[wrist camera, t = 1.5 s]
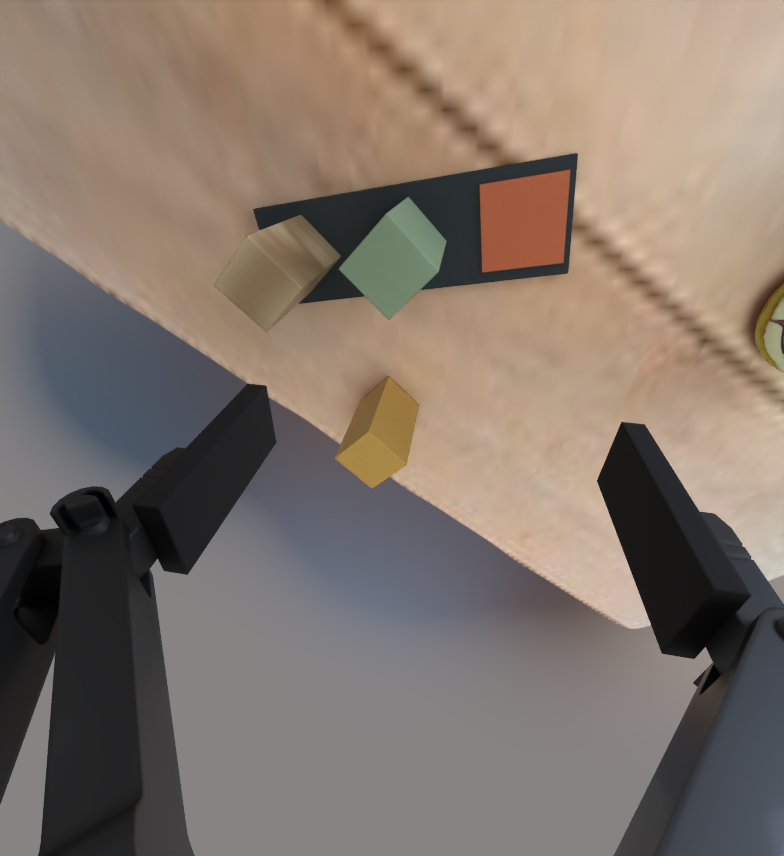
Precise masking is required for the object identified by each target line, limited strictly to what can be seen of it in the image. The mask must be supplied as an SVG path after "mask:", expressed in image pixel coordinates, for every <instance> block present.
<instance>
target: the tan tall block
mask: <svg viewBox="0 0 784 856" xmlns="http://www.w3.org/2000/svg"><path fill="white" fill-rule="evenodd" d="M340 257H341V255H340V254H339V253H338V252H337V251H336V250H335V249H334V248H333V247H332V246H331V245H330V244H329V243H328V242H327V241H326V240H325V239H324V238H323V237H322V236H321V235H320V234H319V233H318V232H317V231H316V230H315V229H314V227H313V226H312V225H311V224H310V223H309V222H308V221H307V220H306V219H305V218H304V217H303V216H302V215H298V216H296V217H293V218H291V219H288V220H286V221H283V222H280V223H278V224H275V225H273V226H270V227H267V228H265V229H262V230H260V231H257V232H255V233H252V234H249V235H247V236H246V237H245V239H244V240H243V242H242V243H241V245H240V246H239V248H238V249H237V251H236V252H235V254H234V255H233V257H232V258H231V260H230V261H229V263H228V264H227V266H226V267H225V269H224V270H223V272H222V273H221V275H220V276H219V278H218V279H217V281H216V282H215V284H214V286H215V287H216V288H217V289H218V290H219V291H221V292H222V293H223V294H224V295H225V296H226V297H227V298H228V299H230V300H231V301H232V302H233V303H234V304H235V305H236V306H237V307H239V308H240V309H241V310H242V311H243V312H244V313H245V314H246V315H248V316H249V317H250V318H251V319H252V320H253V321H254V322H256V323H257V324H258V325H259V326H260V327H261V328H262V329H263V330H265V331H266V332H267V331H268V330H269V329H270V328H271V327H272V326H274V325H275V324H276V323H277V322H278V321H279V320H280V319H281V318H283V317H284V316H285V315H286V314H287V313H288V312H289V311H290V310H291V309H293V308H294V307H295V306H296V305H297V304H298V303H299V302H300V301H302V300H303V299H304V298H305V297H306V296H307V295H308V294H309V293H310V292H311V291H312V290H313V289H314V288H315V287H316V286H317V284H318V283H319V282H320V281H321V280H322V278H323V277H324V276H325V275H326V274H327V273H328V271H329V270H330V269H331V268H332V267H333V265H334V264H335V263H336V262H337V261H338V260H339V258H340Z"/></svg>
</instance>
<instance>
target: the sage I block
mask: <svg viewBox="0 0 784 856" xmlns="http://www.w3.org/2000/svg"><path fill="white" fill-rule="evenodd" d="M446 242H447V241H446V240H445V239H444V238H443V236H442V235H441V234H440V233H439V232H438V231H437V229H436V228H435V227H434V226H433V225H432V224H431V222H430V221H429V220H428V219H427V218H426V217H425V215H424V214H423V213H422V212H421V211H420V210H419V208H418V207H417V206H416V205H415V204H414V203H413V201H412V200H411V199H410V198H409V197H407V198H406V199H404V200H403V201H402V202H401V203H399V204H398V205H397V206H395V207H394V208H393V209H391V210H390V211H389V212H387V213H386V214H385V215H384V216H383V218H382V219H381V220H380V221H379V222H378V223H377V225H376V226H375V227H374V228H373V229H372V230H371V232H370V233H369V234H368V235H367V236H366V237H365V239H364V240H363V241H362V242H361V243H360V244H359V246H358V247H357V248H356V249H355V250H354V251H353V252H352V254H351V255H350V256H349V257H348V258H347V259H346V261H345V262H344V263H343V264H342V265H341V266H340V268H339V270H340V271H341V272H342V273H343V274H344V275H345V276H346V277H347V278H348V279H349V280H350V281H351V282H352V283H353V284H354V285H355V286H356V287H357V288H358V289H359V290H360V291H361V292H362V293H363V294H364V295H365V296H366V297H367V298H368V299H369V300H370V301H371V303H372V304H373V305H374V306H375V307H376V308H377V309H378V310H379V311H380V312H381V313H382V314H383V315H384V316H385V317H386V318H387V319H390V318H391V317H392V316H393V315H394V314H396V313H397V312H398V311H399V310H400V309H401V308H402V307H403V306H404V305H405V304H406V303H407V302H408V301H409V300H410V299H411V298H412V297H413V296H414V295H415V294H416V293H417V292H418V291H419V290H420V289H421V288H422V287H424V286H425V285H426V284H427V283H428V282H429V281H430V280H431V279H432V278H433V277H434V276H435V275H436V274H437V273H438V272H439V268H440V264H441V261H442V257H443V253H444V249H445V246H446Z"/></svg>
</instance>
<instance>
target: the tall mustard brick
mask: <svg viewBox="0 0 784 856" xmlns="http://www.w3.org/2000/svg"><path fill="white" fill-rule="evenodd" d="M418 407H419V405H418V404H417V403H416V402H415V401H414V400H413V399H412V398H411V397H410V396H409V395H408V394H407V393H406V392H405V391H404V390H403V389H402V388H401V387H399V386H398V385H397V384H396V383H395V382H394V381H393V380H392V379H391V378H390V377H389V376H388V377H387V378H386V379H385V380H384V381H383V382H381V383H380V384H379V385H378V386H377V387H376V388H374V389H373V390H372V391H371V392H370V393H369V394H367V395H366V396H365V397H364V398H363V399H362V400H361V401H360V402H359V405H358V407H357V409H356V411H355V414H354V416H353V418H352V421H351V423H350V425H349V427H348V430H347V432H346V434H345V436H344V439H343V441H342V443H341V445H340V448H339V450H338V452H337V455H336V457H335V459H336V460H338V461H339V462H340V463H341V464H343V465H344V466H345V467H346V468H347V469H349V470H350V471H351V472H352V473H353V474H355V475H356V476H357V477H358V478H360V479H361V480H362V481H363V482H364V483H366V484H367V485H368V486H369V487H370V488H373V487H375V486H376V485H378V484H379V483H381V482H382V481H384V480H385V479H387V478H388V477H390V476H391V475H393V474H394V473H396V472H397V471H399V470H400V469H402V468H403V467H404V466H406V465H407V461H408V456H409V451H410V446H411V442H412V437H413V432H414V427H415V422H416V417H417V412H418Z"/></svg>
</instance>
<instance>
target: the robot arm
mask: <svg viewBox="0 0 784 856" xmlns="http://www.w3.org/2000/svg"><path fill="white" fill-rule="evenodd" d="M275 444H276V438H275V432H274V427H273V421H272V415H271V410H270V404H269V398H268V393H267V387H266V386H264V385H255V384H247V385H246V386H245V387H244V388H243V389H242V390H241V391H240V392H239V394H238V395H237V396H236V397H235V398H234V399H233V400H232V401H231V402H230V403H229V404H228V405H227V406H226V407H225V408H224V409H223V410H222V411H221V412H220V413H219V414H218V416H216V418H214V419H213V421H212V422H211V423H210V424H209V425H208V426H207V427H206V428H205V429H204V430H203V431H202V432H201V433H200V434H199V435H198V436H197V437H196V438H195V439H194V440H193V442H191V444H190V445H189V446H188V447H187V448H176V449H174V450H172V451H170V452H169V453H167V454H165V455H163V456H162V457H161V458H160V459H159V460H158V461H157V462H156V463H155V464H154V465H153V466H152V469H149V470H148V471H147V472H146V473H145V474H144V475H143V478H140V479H139V480H138V481H137V482H136V483H135V484H134V485H133V486H132V487H131V488H130V489H129V490H128V491H127V492H126V493H125V494H124V495H123V496H122V497H121V498H120V499H119V500H118V501H117V502H116V503H115V501H114V499H113V497H112V495H111V494H110V492H109V490H108V489H106V488H103V487H87V488H82V489H79V490H77V491H74V492H72V493H70V494H68V495H66V496H65V497H63V498H61V499H60V500H59V501H58V502H57V503H56V504H55V505H54V506H53V507H52V510H51V512H50V515H51V516H52V518H53V519H54V521H55V522H56V524H57V525H58V527H59V528H56V529H47V530H40V528H39V527H38V525H37V524H36V523H35V521H34V520H32V519H29V518H16V519H13V520H9V521H5V522H3V523H0V804H1V801H2V798H3V795H4V793H5V790H6V787H7V784H8V782H9V779H10V776H11V773H12V771H13V768H14V765H15V762H16V759H17V757H18V754H19V751H20V749H21V746H22V743H23V740H24V737H25V735H26V732H27V729H28V726H29V723H30V721H31V718H32V715H33V713H34V710H35V707H36V704H37V701H38V698H39V696H40V693H41V690H42V688H43V685H44V682H45V679H46V676H47V674H48V671H49V668H50V666H51V663H52V660H53V657H54V654H55V664H54V678H53V691H52V703H51V717H50V729H49V743H48V755H47V768H46V782H45V795H44V808H43V821H42V834H41V844H40V851H39V855H38V856H194V853H193V850H192V848H191V845H190V842H189V838H188V834H187V828H186V821H185V814H184V806H183V799H182V791H181V784H180V776H179V769H178V761H177V754H176V746H175V739H174V732H173V724H172V716H171V709H170V701H169V694H168V687H167V679H166V671H165V664H164V656H163V649H162V641H161V634H160V627H159V619H158V612H157V604H156V596H155V589H154V582H153V575H152V573H151V571H150V568H151V566H152V565H153V564H154V562H155V561H156V560H157V558H158V560H159V562H160V564H161V566H162V568H163V570H164V571H168V572H175V573H180V574H186V575H188V573H189V572H190V570H191V569H192V567H193V566H194V564H195V563H196V561H197V560H198V558H199V557H200V555H201V554H202V552H203V551H204V549H205V548H206V546H207V545H208V543H209V542H210V540H211V539H212V537H213V536H214V535H215V533H216V532H217V530H218V529H219V527H220V525H221V524H222V523H223V521H224V520H225V518H226V517H227V515H228V514H229V512H230V511H231V509H232V508H233V506H234V505H235V503H236V502H237V500H238V498H239V497H240V496H241V494H242V493H243V491H244V490H245V488H246V487H247V485H248V484H249V482H250V481H251V479H252V478H253V476H254V475H255V473H256V472H257V470H258V469H259V467H260V466H261V464H262V463H263V461H264V460H265V458H266V457H267V455H268V454H269V452H270V451H271V450H272V448H273V446H274V445H275ZM597 482H598V485H599V487H600V490H601V493H602V495H603V498H604V501H605V503H606V506H607V509H608V511H609V514H610V517H611V519H612V522H613V525H614V527H615V530H616V533H617V535H618V538H619V541H620V543H621V546H622V548H623V551H624V554H625V556H626V559H627V562H628V564H629V567H630V570H631V572H632V575H633V578H634V580H635V583H636V586H637V588H638V591H639V594H640V596H641V599H642V602H643V604H644V607H645V610H646V612H647V615H648V618H649V620H650V623H651V626H652V628H653V631H654V634H655V636H656V639H657V642H658V644H659V647H660V650H661V652H662V654H668V655H674V656H680V657H686V658H692V659H695V658H696V656H697V655H698V654H699V653H700V652H701V651H702V650H703V649H704V648H705V647H706V648H707V650H708V652H709V655H710V657H711V659H712V661H713V663H712V664H711V665H710V666H709V667H708V668H707V669H706V670H705V671H704V672H703V673H702V674H701V675H700V676H699V677H698V678H697V679H696V680H695V682H694V684H695V685H696V686H698V688H697V690H696V692H695V694H694V696H693V698H692V700H691V702H690V704H689V706H688V708H687V710H686V712H685V714H684V716H683V718H682V720H681V722H680V724H679V726H678V728H677V730H676V732H675V734H674V736H673V738H672V740H671V742H670V744H669V746H668V748H667V750H666V752H665V754H664V756H663V758H662V760H661V762H660V764H659V766H658V768H657V770H656V772H655V774H654V776H653V778H652V780H651V782H650V784H649V786H648V788H647V790H646V792H645V794H644V796H643V798H642V800H641V802H640V804H639V806H638V808H637V810H636V812H635V814H634V816H633V818H632V820H631V822H630V824H629V826H628V828H627V830H626V832H625V834H624V836H623V838H622V840H621V843H620V844H619V846H618V849H617V850H616V852H615V854H614V856H784V604H783V603H782V601H781V600H780V598H779V597H778V596H777V594H776V592H775V591H774V590H773V588H772V587H771V585H770V584H769V582H768V581H767V579H766V578H765V576H764V575H763V573H762V572H761V571H760V569H759V568H758V566H757V565H756V563H755V562H754V560H751V556H750V554H749V553H748V552H747V550H746V549H745V547H742V543H741V541H740V540H739V538H738V537H737V535H736V534H735V533H734V531H733V530H732V528H731V527H729V526H728V525H727V524H726V523H725V522H724V521H722V520H721V519H720V518H719V517H718V516H717V515H715V514H713V513H705V512H699V510H698V509H697V507H696V505H695V504H694V502H693V501H692V499H691V498H690V496H689V494H688V493H687V491H686V490H685V488H684V486H683V485H682V483H681V482H680V480H679V478H678V477H677V475H676V474H675V472H674V470H673V469H672V467H671V466H670V464H669V462H668V461H667V459H666V458H665V456H664V454H663V453H662V451H661V450H660V448H659V446H658V445H657V443H656V442H655V440H654V438H653V437H652V435H651V434H650V432H649V431H648V429H647V427H646V426H645V424H635V423H626V422H621V425H620V427H619V429H618V432H617V434H616V436H615V439H614V441H613V444H612V446H611V448H610V451H609V453H608V456H607V458H606V460H605V463H604V465H603V468H602V470H601V472H600V475H599V477H598V480H597Z"/></svg>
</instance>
